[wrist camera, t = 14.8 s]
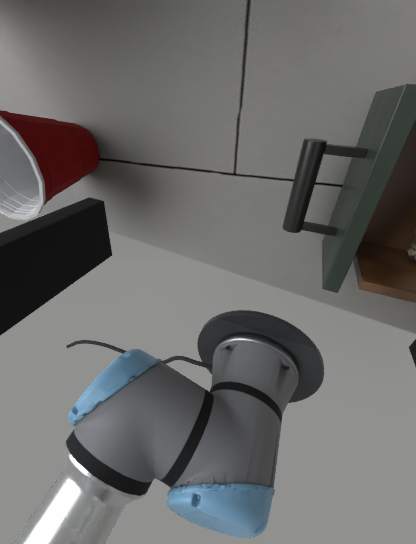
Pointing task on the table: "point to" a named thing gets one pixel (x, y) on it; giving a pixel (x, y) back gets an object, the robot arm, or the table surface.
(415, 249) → the stone
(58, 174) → the plastic cup
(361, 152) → the drawer
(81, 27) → the table surface
